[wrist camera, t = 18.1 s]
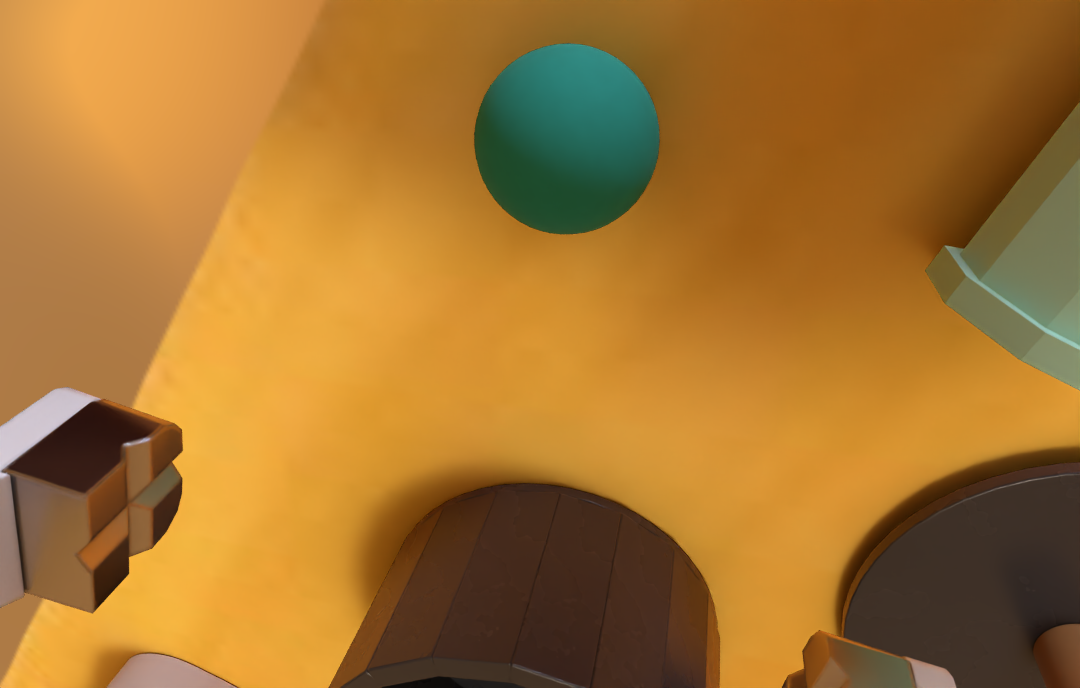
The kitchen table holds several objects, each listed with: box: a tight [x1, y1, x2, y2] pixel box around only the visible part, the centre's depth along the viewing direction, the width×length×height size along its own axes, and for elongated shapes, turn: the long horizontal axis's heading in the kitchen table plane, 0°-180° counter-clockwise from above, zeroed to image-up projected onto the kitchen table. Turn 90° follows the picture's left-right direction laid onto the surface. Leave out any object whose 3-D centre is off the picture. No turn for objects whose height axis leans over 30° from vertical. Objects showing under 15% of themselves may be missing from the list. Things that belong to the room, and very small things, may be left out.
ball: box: [474, 43, 660, 234], centre depth 22 cm, size 5×5×5 cm
